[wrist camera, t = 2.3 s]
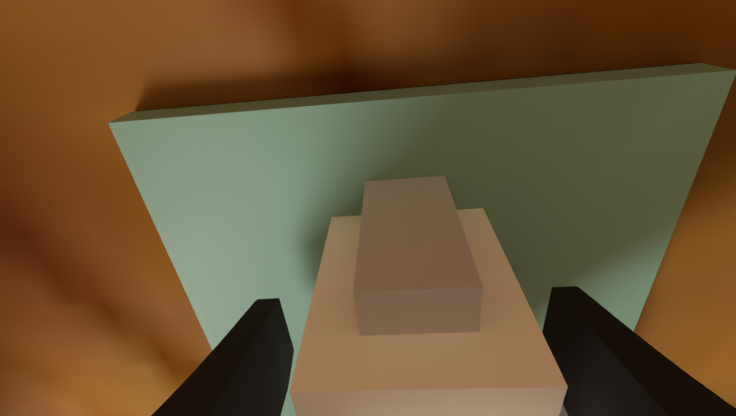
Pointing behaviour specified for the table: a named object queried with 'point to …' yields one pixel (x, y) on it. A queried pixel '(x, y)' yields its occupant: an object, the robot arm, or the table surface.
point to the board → (429, 159)
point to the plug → (420, 316)
